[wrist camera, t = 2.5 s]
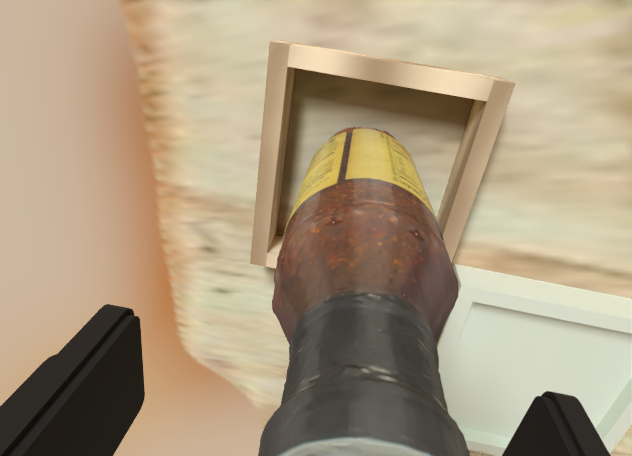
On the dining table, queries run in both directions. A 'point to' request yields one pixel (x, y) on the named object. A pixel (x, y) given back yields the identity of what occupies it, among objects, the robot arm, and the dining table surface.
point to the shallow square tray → (533, 355)
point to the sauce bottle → (363, 309)
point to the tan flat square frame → (289, 56)
